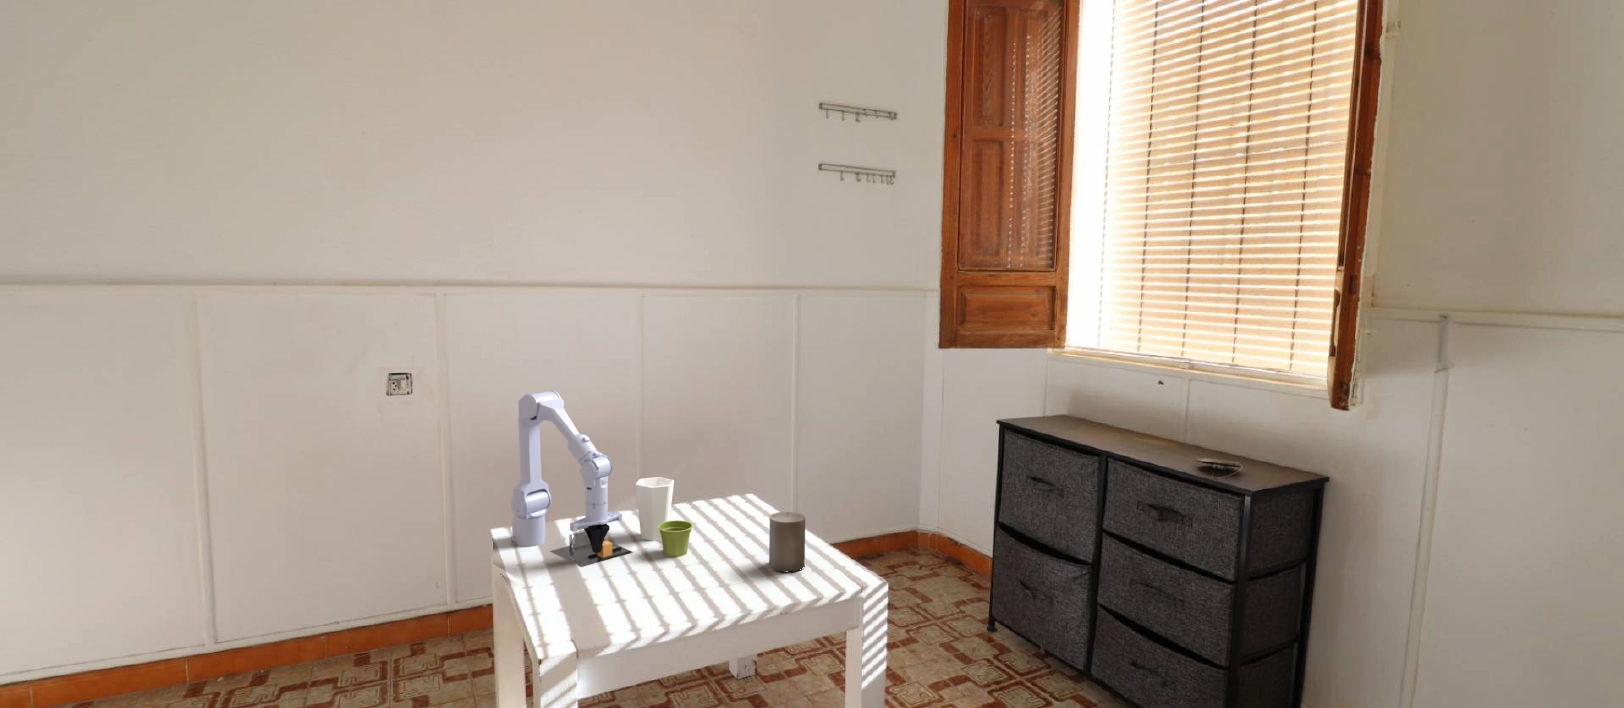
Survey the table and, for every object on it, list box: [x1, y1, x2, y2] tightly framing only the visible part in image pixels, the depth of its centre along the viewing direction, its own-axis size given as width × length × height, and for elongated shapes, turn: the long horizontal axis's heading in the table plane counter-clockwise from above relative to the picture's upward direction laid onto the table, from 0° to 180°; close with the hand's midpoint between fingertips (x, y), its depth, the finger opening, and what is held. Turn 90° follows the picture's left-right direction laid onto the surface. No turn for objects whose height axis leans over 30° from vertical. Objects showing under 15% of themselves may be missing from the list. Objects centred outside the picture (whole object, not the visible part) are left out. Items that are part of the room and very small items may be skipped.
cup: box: [634, 476, 675, 543], centre depth 229 cm, size 11×10×17 cm
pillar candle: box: [768, 511, 806, 572], centre depth 212 cm, size 10×10×15 cm
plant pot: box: [658, 519, 694, 558], centre depth 217 cm, size 9×9×9 cm
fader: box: [597, 540, 613, 558], centre depth 213 cm, size 3×3×4 cm
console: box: [549, 533, 634, 568], centre depth 216 cm, size 16×16×5 cm
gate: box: [572, 529, 591, 548], centre depth 221 cm, size 7×1×4 cm, turn 138°
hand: (596, 551), depth 211 cm, fingers closed
